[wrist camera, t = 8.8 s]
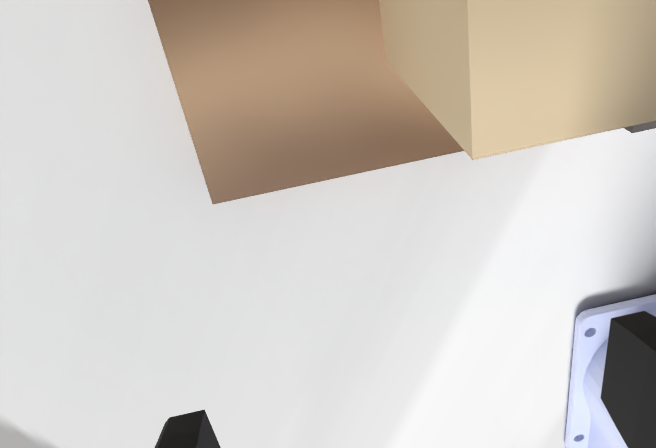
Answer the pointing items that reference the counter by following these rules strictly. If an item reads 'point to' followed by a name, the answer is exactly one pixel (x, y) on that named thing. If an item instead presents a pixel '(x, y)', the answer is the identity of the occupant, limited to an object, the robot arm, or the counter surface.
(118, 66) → the counter surface
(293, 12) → the tan tray
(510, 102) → the box
